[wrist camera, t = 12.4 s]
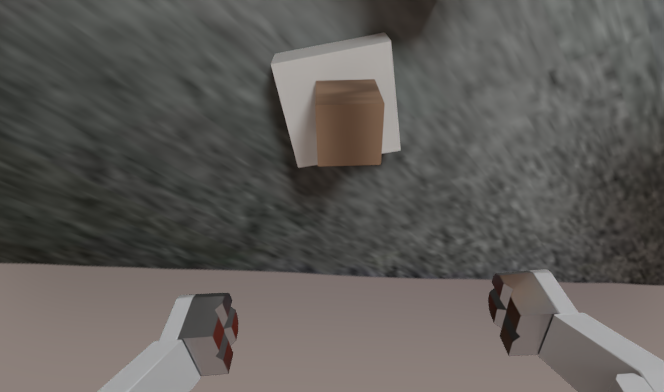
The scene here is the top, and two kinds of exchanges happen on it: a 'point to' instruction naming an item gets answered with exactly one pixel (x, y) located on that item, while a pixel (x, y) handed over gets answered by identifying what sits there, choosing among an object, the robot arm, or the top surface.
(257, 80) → the top surface
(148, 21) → the top surface
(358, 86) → the walnut block
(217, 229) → the top surface
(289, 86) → the stone slab
